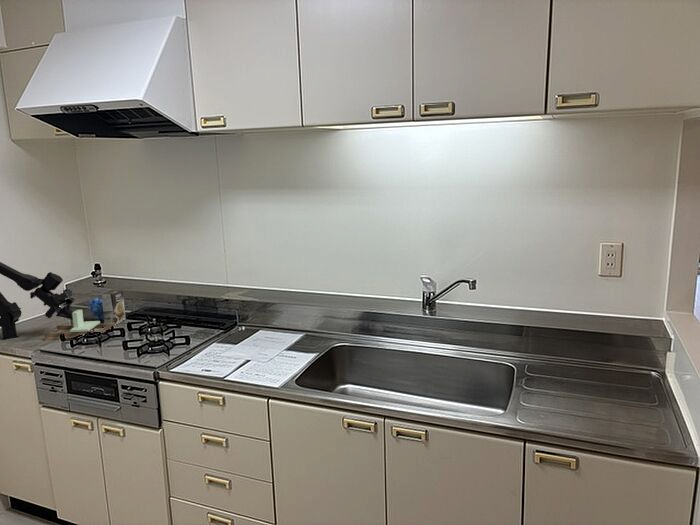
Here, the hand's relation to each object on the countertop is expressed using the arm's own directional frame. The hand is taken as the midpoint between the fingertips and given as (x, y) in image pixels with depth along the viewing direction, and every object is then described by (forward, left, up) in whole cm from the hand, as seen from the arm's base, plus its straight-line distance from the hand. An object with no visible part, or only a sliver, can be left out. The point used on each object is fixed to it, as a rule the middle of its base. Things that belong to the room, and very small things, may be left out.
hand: (75, 319), depth 240 cm
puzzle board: (+1, +1, -7) cm, 8 cm away
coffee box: (-7, +19, -8) cm, 22 cm away
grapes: (-18, +14, -8) cm, 24 cm away
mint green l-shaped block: (+2, +3, -4) cm, 6 cm away
